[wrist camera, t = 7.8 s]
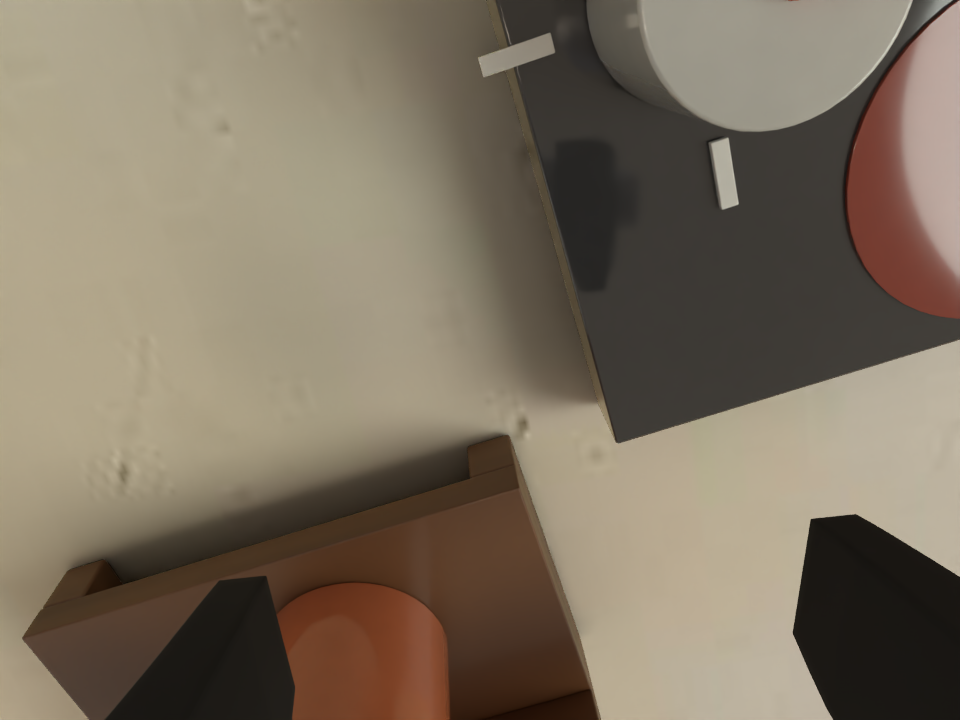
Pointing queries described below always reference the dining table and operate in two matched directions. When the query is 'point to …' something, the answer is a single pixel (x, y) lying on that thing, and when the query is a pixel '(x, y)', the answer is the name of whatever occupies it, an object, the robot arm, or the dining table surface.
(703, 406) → the hob
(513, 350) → the dining table surface
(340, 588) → the jar
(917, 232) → the disc
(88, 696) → the spice shelf
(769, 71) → the hob knob
